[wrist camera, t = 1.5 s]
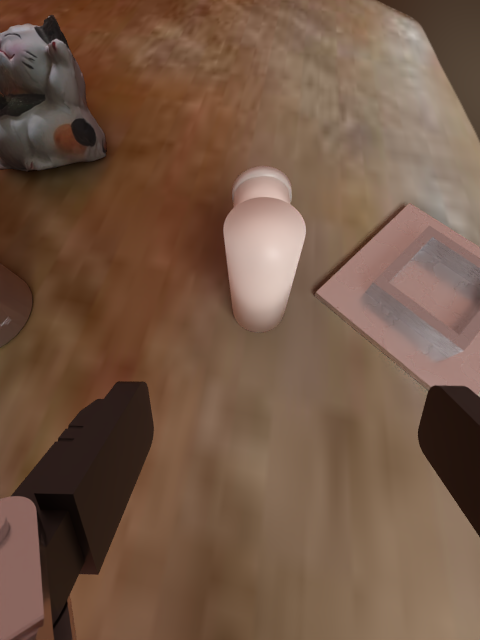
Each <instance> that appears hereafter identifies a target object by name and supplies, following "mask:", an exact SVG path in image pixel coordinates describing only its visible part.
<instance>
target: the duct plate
mask: <svg viewBox="0 0 480 640" xmlns="http://www.w3.org/2000/svg"><path fill="white" fill-rule="evenodd" d="M314 296H315V297H316V298H318V299H319V300H320V301H321V302H322V303H324V304H325V305H326V306H327V307H328V308H330V309H331V310H332V311H333V312H334V313H336V314H337V315H338V316H339V317H340V318H342V319H343V320H344V321H345V322H346V323H348V324H349V325H350V326H351V327H353V328H354V329H355V330H356V331H357V332H359V333H360V334H361V335H362V336H363V337H365V338H366V339H367V340H368V341H369V342H371V343H372V344H373V345H374V346H375V347H377V348H378V349H379V350H380V351H381V352H383V353H384V354H385V355H386V356H387V357H389V358H390V359H391V360H392V361H394V362H395V363H396V364H397V365H398V366H400V367H401V368H402V369H403V370H404V371H406V372H407V373H408V374H409V375H410V376H412V377H413V378H414V379H415V380H416V381H418V382H419V383H420V384H421V385H422V386H424V387H425V388H426V389H427V390H429V389H430V388H431V387H432V386H434V385H447V386H466V387H468V388H469V389H471V390H472V391H473V392H474V393H475V394H476V395H477V394H478V393H479V392H480V247H478V246H477V245H475V244H474V243H472V242H470V241H469V240H467V239H466V238H464V237H463V236H461V235H459V234H458V233H456V232H455V231H453V230H451V229H450V228H448V227H447V226H445V225H444V224H442V223H440V222H439V221H437V220H436V219H434V218H433V217H431V216H429V215H428V214H426V213H425V212H423V211H421V210H420V209H418V208H417V207H415V206H414V205H412V204H410V203H409V204H408V205H407V206H406V207H405V208H404V209H403V210H402V211H401V212H400V213H399V214H398V215H397V216H395V217H394V218H393V219H392V220H391V221H390V222H389V223H388V224H387V225H386V226H385V227H384V228H383V229H382V230H381V231H380V232H379V233H378V234H377V235H376V236H374V237H373V238H372V239H371V240H370V241H369V242H368V243H367V244H366V245H365V246H364V247H363V248H362V249H361V250H360V251H359V252H358V253H357V254H356V255H354V256H353V257H352V258H351V259H350V260H349V261H348V262H347V263H346V264H345V265H344V266H343V267H342V268H341V269H340V270H339V271H338V272H337V273H336V274H334V275H333V276H332V277H331V278H330V279H329V280H328V281H327V282H326V283H325V284H324V285H323V286H322V287H321V288H320V289H319V290H318V291H317V292H316V293H315V295H314Z"/></svg>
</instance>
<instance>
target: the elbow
mask: <svg viewBox="0 0 480 640" xmlns="http://www.w3.org/2000/svg"><path fill="white" fill-rule="evenodd" d="M291 198H292V192H291V183H290V180H289V178H288V177H287V176H286V175H285V174H284V173H283V172H282V171H280V170H278V169H276V168H273V167H268V166H258V167H253V168H250V169H248V170H246V171H244V172H243V173H241V174H240V175H239V176H238V177H237V178H236V180H235V182H234V184H233V188H232V201H233V205H234V208H233V209H232V210H231V211H230V213H229V214H228V216H227V217H226V219H225V222H224V228H223V233H224V241H225V250H226V259H227V267H228V276H229V284H230V293H231V301H232V310H233V315H234V318H235V320H236V321H237V323H238V324H239V325H240V326H241V327H243V328H244V329H246V330H248V331H251V332H257V333H261V332H267V331H270V330H272V329H273V328H275V327H276V326H277V325H278V324H279V323H280V322H281V320H282V318H283V316H284V312H285V309H286V305H287V301H288V298H289V294H290V290H291V287H292V283H293V279H294V276H295V272H296V269H297V265H298V261H299V258H300V254H301V250H302V247H303V243H304V239H305V235H306V227H305V222H304V220H303V218H302V216H301V214H300V213H299V212H298V211H297V209H295V208H294V207H293V206H292V205H290V202H291Z"/></svg>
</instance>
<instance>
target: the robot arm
mask: <svg viewBox="0 0 480 640" xmlns="http://www.w3.org/2000/svg"><path fill="white" fill-rule="evenodd" d="M31 309H32V293H31V291H30V288H29V286H28V285H27V284H26V282H25V281H24V280H22V279H21V278H20V277H18V276H17V275H16V274H14V273H13V272H11V271H10V270H9V269H7V268H6V267H5V266H3V265H2V264H1V263H0V347H2V346H3V345H5V344H6V343H8V342H9V341H10V340H11V339H13V338H14V337H15V336H16V335H17V334H18V333H19V331H20V330H21V329H22V328H23V326H24V325H25V323H26V321H27V320H28V318H29V315H30V312H31ZM153 431H154V426H153V418H152V412H151V405H150V398H149V392H148V387H147V384H146V383H145V382H120V381H119V382H117V383H116V384H115V385H114V386H113V388H112V389H111V390H110V392H109V393H108V394H107V396H106V397H105V398H104V399H97V400H95V401H94V402H93V403H91V404H90V405H88V406H87V407H85V408H84V409H83V410H81V411H80V412H79V413H78V415H77V416H76V417H75V418H74V419H73V421H72V422H71V423H70V424H69V427H68V429H65V431H64V432H63V433H62V434H61V435H60V437H59V438H58V442H55V443H54V444H53V445H52V447H51V448H50V449H49V450H48V451H47V453H46V454H45V455H44V456H43V458H42V459H41V460H40V461H39V463H38V464H37V465H36V466H35V467H34V469H33V470H32V471H31V472H30V474H29V475H28V476H27V477H26V478H25V480H24V481H23V482H22V483H21V485H20V486H19V487H18V488H17V490H16V491H15V492H14V493H13V494H12V496H11V497H6V498H2V499H0V640H77V639H76V632H75V625H74V618H73V611H72V604H71V599H70V592H71V590H72V588H73V586H74V584H75V582H76V579H77V577H78V575H79V574H96V575H98V574H99V571H100V569H101V566H102V564H103V562H104V559H105V557H106V554H107V552H108V549H109V547H110V545H111V542H112V540H113V537H114V535H115V532H116V530H117V527H118V525H119V523H120V520H121V518H122V515H123V513H124V510H125V508H126V506H127V503H128V501H129V498H130V496H131V493H132V491H133V489H134V486H135V484H136V481H137V479H138V476H139V474H140V472H141V469H142V467H143V464H144V462H145V459H146V457H147V455H148V452H149V450H150V447H151V444H152V440H153ZM418 440H419V444H420V447H421V450H422V452H423V453H424V455H425V457H426V458H427V460H428V461H429V462H430V464H431V465H432V467H433V468H434V470H435V471H436V473H437V474H438V476H439V477H440V479H441V480H442V482H443V483H444V485H445V486H446V488H447V489H448V491H449V492H450V494H451V495H452V497H453V498H454V500H455V501H456V502H457V504H458V505H459V507H460V508H461V510H462V511H463V513H464V514H465V516H466V517H467V519H468V520H469V522H470V523H471V525H472V526H473V528H474V529H475V531H476V532H477V534H478V535H479V537H480V397H479V396H477V395H476V394H475V393H474V392H473V391H472V390H471V389H469V388H468V387H466V386H447V385H434V386H432V387H431V388H430V389H429V391H428V394H427V398H426V402H425V406H424V409H423V413H422V417H421V421H420V425H419V429H418Z"/></svg>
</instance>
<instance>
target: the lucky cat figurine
mask: <svg viewBox="0 0 480 640" xmlns="http://www.w3.org/2000/svg"><path fill="white" fill-rule="evenodd" d="M0 92H1V93H2V94H3V95H4V96H3V95H2V94H1V93H0V169H17V170H22V171H29V170H39V171H40V170H45V169H52V168H56V167H59V166H63V165H68V164H72V163H76V162H89V161H95V160H97V159H100V158H103V157H105V156H106V152H107V150H106V140H105V134H104V133H103V131H102V129H101V128H100V127H99V125H98V124H97V122H96V120H95V118H94V117H93V116H92V115H91V113H90V111H89V109H88V107H87V102H86V93H85V82H84V78H83V75H82V72H81V71H80V68H79V66H78V64H77V62H76V60H75V58H74V57H73V55H72V53H71V51H70V49H69V46H68V43H67V40H66V39H65V36H64V35H63V33H62V32H61V30H60V27H59V25H58V23H57V21H56V19H55V17H54V15H50V16H48V18H47V19H45V20H44V24H43V26H36V25H31V24H24V25H16V26H12V27H10V28H9V30H7V31H5V32H3V33H0Z"/></svg>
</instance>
